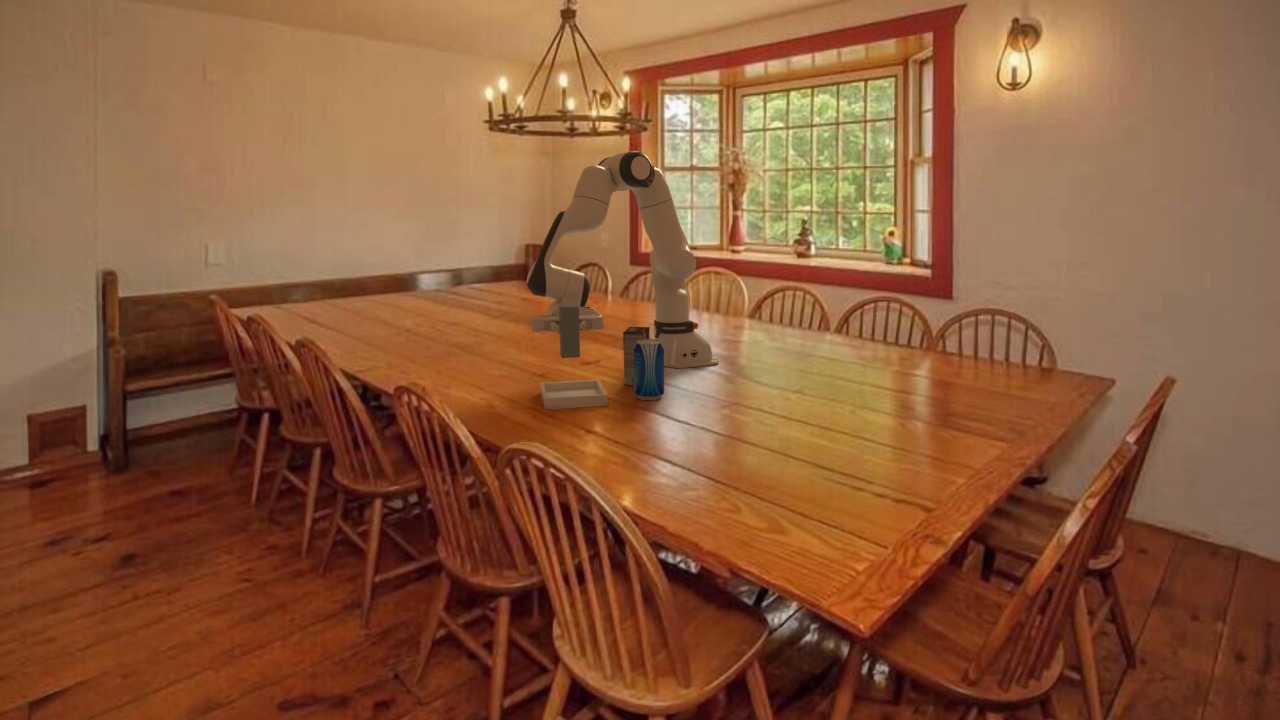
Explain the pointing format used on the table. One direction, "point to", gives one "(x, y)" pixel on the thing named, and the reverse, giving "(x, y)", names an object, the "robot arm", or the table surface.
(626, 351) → the coffee box
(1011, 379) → the table surface
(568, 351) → the slate block
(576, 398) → the bin
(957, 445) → the table surface
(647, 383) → the beer can
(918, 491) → the table surface
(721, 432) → the table surface
